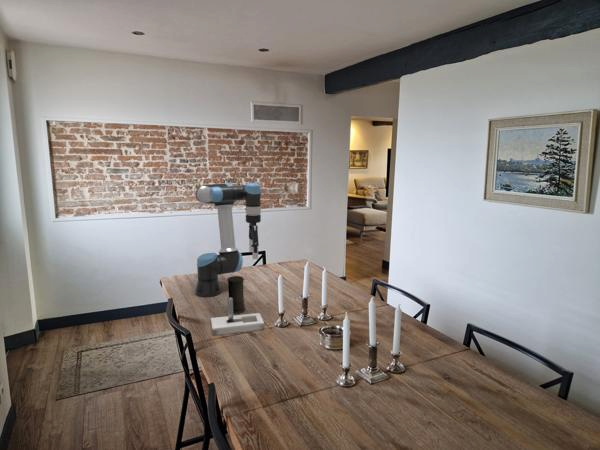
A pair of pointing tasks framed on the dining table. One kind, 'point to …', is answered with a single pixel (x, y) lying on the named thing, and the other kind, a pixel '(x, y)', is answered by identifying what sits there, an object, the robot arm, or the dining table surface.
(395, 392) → the dining table surface
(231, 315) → the peg
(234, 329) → the keyhole board
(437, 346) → the dining table surface
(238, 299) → the container
